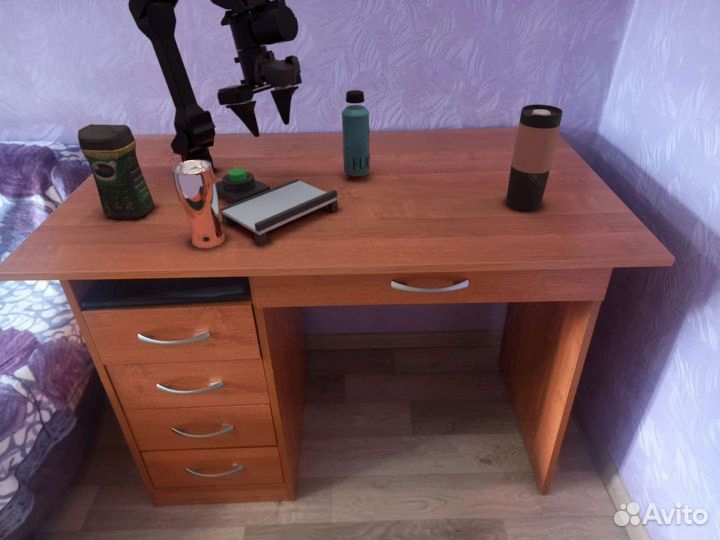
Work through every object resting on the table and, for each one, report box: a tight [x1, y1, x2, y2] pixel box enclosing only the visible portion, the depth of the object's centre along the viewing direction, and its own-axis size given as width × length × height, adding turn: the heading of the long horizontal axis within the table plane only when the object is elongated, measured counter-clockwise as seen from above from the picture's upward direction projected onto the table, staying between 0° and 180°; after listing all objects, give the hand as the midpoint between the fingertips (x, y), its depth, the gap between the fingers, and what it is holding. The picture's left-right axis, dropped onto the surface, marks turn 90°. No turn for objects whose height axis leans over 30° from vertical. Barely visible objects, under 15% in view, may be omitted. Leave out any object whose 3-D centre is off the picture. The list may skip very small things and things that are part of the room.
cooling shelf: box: [219, 178, 339, 247], centre depth 97 cm, size 13×20×4 cm, turn 136°
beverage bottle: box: [341, 89, 371, 177], centre depth 109 cm, size 6×7×20 cm
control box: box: [216, 171, 272, 205], centre depth 107 cm, size 11×9×4 cm
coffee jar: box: [77, 123, 155, 220], centre depth 96 cm, size 10×8×19 cm
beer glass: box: [171, 160, 226, 249], centre depth 87 cm, size 7×7×15 cm
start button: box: [227, 167, 247, 182], centre depth 105 cm, size 4×4×2 cm
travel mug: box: [505, 103, 563, 213], centre depth 96 cm, size 8×8×20 cm
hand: (272, 130), depth 97 cm, fingers open, 9 cm apart
